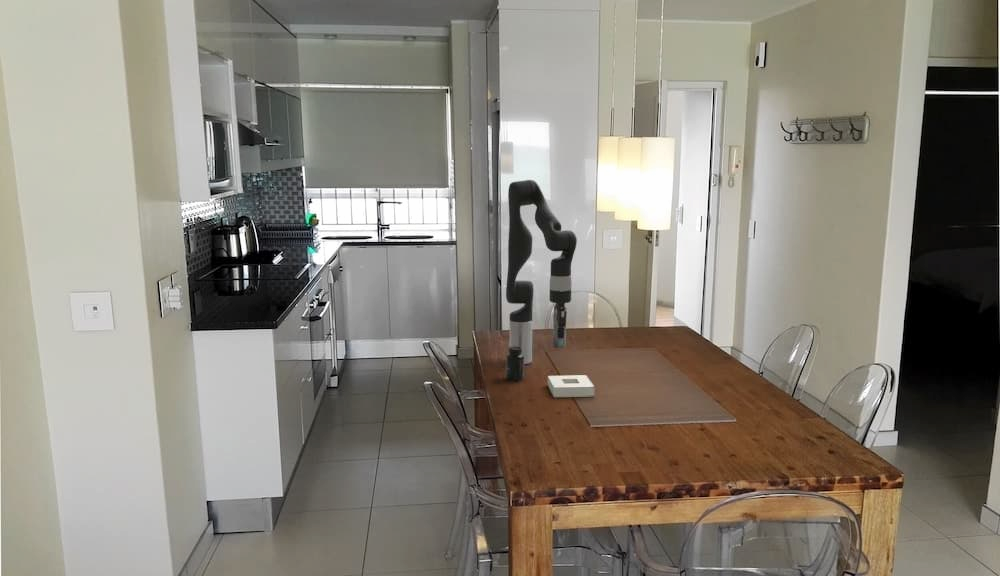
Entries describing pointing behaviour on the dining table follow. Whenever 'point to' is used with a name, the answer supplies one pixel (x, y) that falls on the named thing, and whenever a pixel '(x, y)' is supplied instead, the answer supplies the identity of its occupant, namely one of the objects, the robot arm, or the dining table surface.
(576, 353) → the dining table surface
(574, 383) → the socket block
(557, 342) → the graphite peg
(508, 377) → the supplement bottle
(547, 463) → the dining table surface
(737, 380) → the dining table surface
